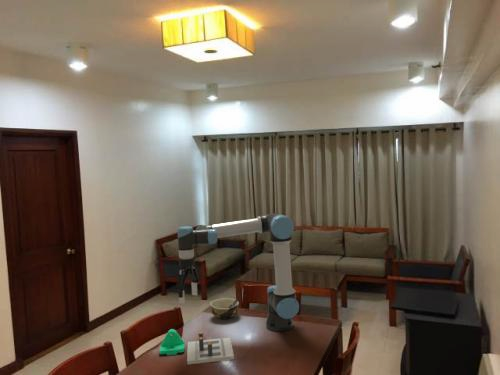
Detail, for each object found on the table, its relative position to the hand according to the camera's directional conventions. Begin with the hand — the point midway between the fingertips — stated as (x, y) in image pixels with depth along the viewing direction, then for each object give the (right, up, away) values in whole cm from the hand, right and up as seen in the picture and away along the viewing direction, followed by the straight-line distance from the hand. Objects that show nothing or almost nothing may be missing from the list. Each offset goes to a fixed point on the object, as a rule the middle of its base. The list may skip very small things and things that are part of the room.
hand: (188, 299), depth 212 cm
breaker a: (+6, -23, +3) cm, 24 cm away
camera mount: (-8, -27, 0) cm, 28 cm away
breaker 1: (+7, -23, -4) cm, 25 cm away
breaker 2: (+12, -24, -10) cm, 28 cm away
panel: (+11, -25, -3) cm, 28 cm away
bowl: (+16, -23, +43) cm, 51 cm away
